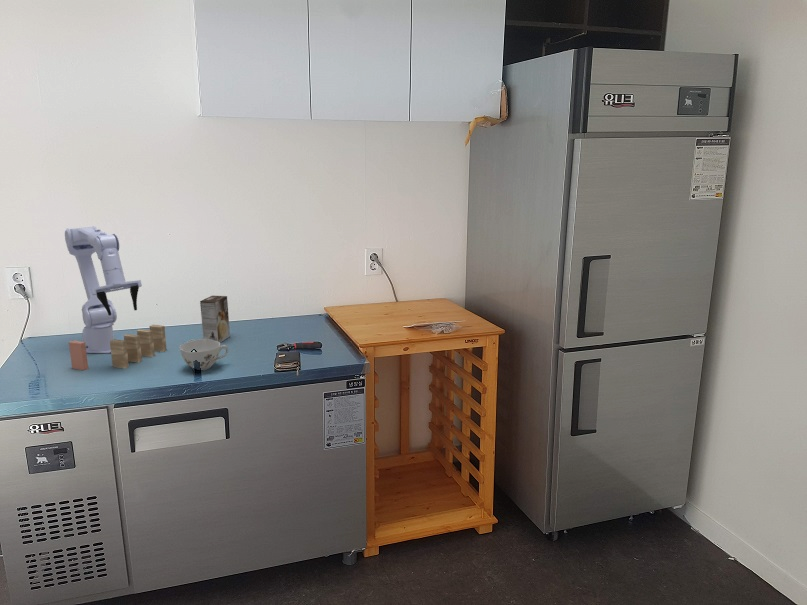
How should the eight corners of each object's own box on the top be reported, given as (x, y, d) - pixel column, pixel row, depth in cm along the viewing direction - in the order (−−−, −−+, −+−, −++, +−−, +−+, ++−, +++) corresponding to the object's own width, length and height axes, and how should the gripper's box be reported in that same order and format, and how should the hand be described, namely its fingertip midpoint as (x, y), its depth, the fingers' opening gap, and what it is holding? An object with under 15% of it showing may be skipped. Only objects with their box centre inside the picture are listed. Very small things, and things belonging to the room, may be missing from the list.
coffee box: (215, 335, 238) (212, 294, 234) (230, 336, 236) (227, 295, 232) (202, 342, 229) (199, 300, 225) (218, 344, 228) (215, 301, 224)
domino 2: (138, 362, 208) (135, 337, 206) (126, 360, 210) (123, 335, 207) (142, 360, 210) (139, 335, 207) (130, 359, 211) (127, 333, 209)
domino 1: (124, 368, 203) (121, 342, 200) (112, 366, 204) (109, 340, 202) (128, 366, 204) (125, 340, 202) (116, 364, 206) (113, 339, 204)
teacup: (183, 376, 196) (181, 352, 194) (179, 364, 207) (177, 341, 205) (232, 370, 202) (230, 346, 200) (226, 358, 213) (224, 336, 211)
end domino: (83, 370, 201) (80, 343, 199) (72, 368, 202) (68, 342, 200) (88, 368, 202) (85, 342, 200) (76, 366, 204) (73, 340, 202)
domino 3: (151, 357, 213) (148, 332, 211) (139, 355, 215) (136, 330, 213) (154, 355, 215) (152, 330, 213) (143, 353, 217) (140, 329, 215)
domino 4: (163, 351, 219) (160, 327, 217) (151, 350, 221) (149, 325, 218) (166, 350, 221) (164, 326, 218) (155, 348, 222) (153, 324, 220)
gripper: (88, 273, 192) (98, 315, 191) (137, 264, 198) (148, 305, 198) (88, 277, 198) (98, 318, 197) (136, 269, 205) (146, 309, 204)
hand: (123, 312), depth 198 cm, fingers open, 7 cm apart
